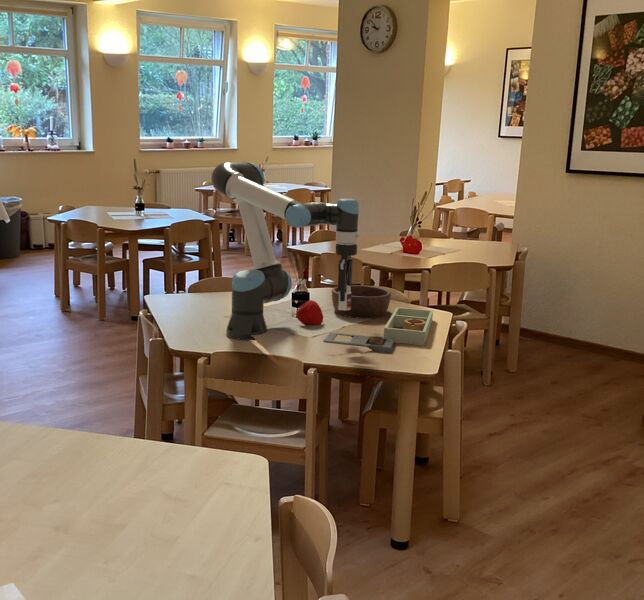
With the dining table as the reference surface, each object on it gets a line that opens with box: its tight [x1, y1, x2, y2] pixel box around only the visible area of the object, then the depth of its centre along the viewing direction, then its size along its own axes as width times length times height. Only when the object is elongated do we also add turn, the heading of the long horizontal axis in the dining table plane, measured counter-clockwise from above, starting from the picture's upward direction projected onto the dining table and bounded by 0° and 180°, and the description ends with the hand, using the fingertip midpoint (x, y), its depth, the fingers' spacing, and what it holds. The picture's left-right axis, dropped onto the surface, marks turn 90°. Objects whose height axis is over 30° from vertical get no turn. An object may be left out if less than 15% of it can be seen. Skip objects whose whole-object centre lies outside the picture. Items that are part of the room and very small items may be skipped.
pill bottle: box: [338, 285, 351, 310], centre depth 266 cm, size 5×5×8 cm
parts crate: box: [383, 306, 434, 346], centre depth 292 cm, size 15×37×5 cm, turn 167°
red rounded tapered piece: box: [296, 299, 324, 327], centre depth 289 cm, size 10×10×11 cm
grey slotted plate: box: [323, 332, 396, 354], centre depth 269 cm, size 24×12×2 cm, turn 77°
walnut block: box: [369, 332, 384, 346], centre depth 268 cm, size 4×4×4 cm
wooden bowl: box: [331, 284, 392, 319], centre depth 316 cm, size 25×25×10 cm
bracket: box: [403, 319, 426, 331], centre depth 295 cm, size 18×8×7 cm, turn 167°
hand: (344, 308), depth 267 cm, fingers closed on pill bottle, 5 cm apart
